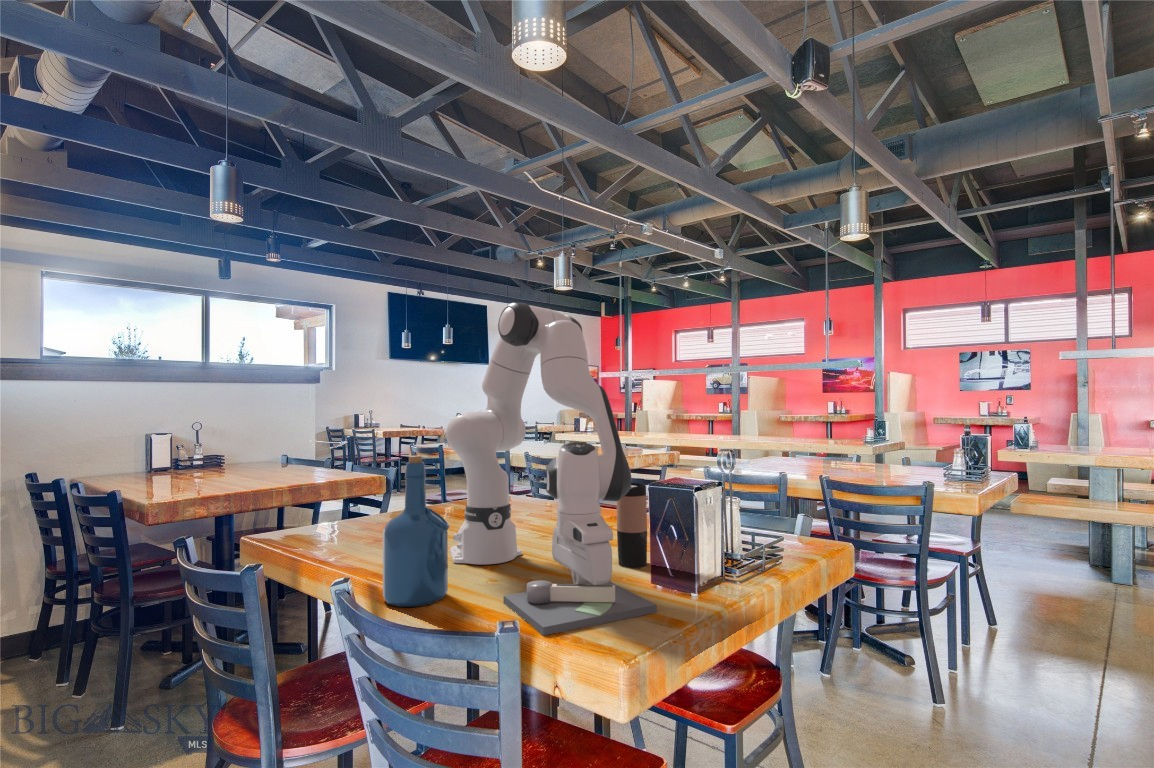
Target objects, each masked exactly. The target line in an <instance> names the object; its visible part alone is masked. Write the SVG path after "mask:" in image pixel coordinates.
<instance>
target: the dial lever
mask: <svg viewBox="0 0 1154 768" xmlns="http://www.w3.org/2000/svg"><path fill="white" fill-rule="evenodd" d="M526 592H527V601H528V602H530V603H537V604H539V603H547V602H550V601H572V602H615V585H588V584H574V583H552V582H551V581H549V580H543V579H542V580H541V579H539V580H531V581H529V582H527V583H526Z"/></svg>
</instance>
